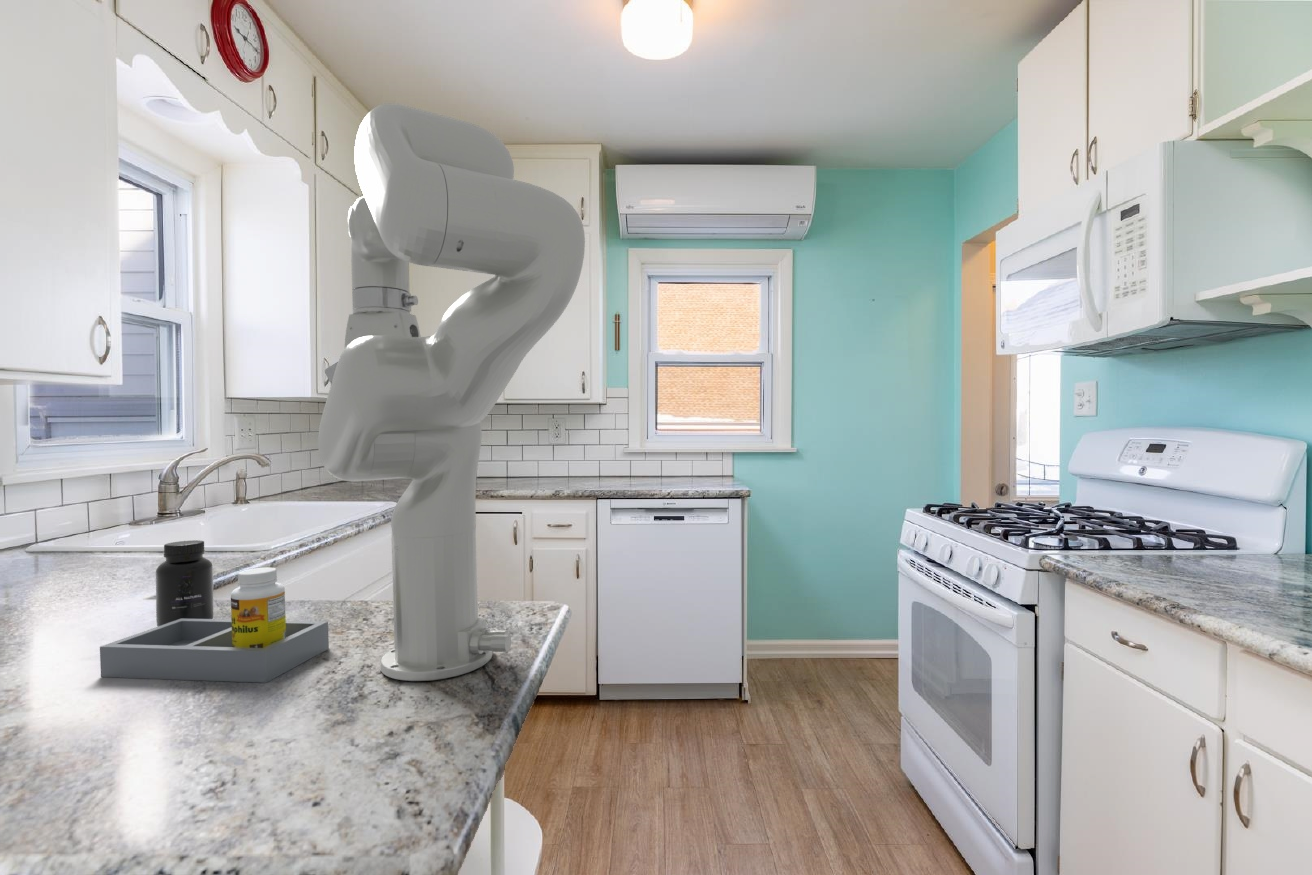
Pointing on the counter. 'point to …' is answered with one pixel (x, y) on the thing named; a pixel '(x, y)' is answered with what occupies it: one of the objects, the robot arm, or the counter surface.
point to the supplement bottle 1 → (184, 583)
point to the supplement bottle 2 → (258, 609)
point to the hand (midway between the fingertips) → (385, 426)
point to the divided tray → (210, 652)
